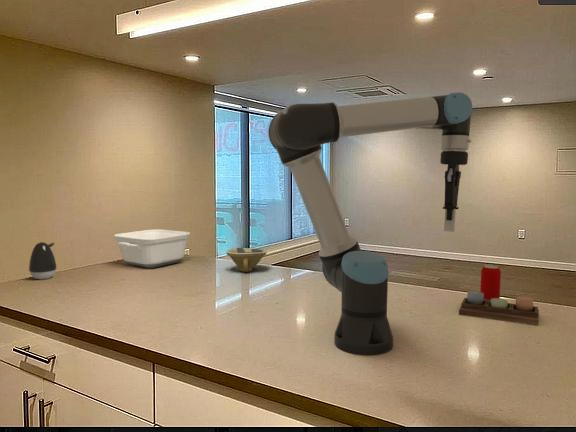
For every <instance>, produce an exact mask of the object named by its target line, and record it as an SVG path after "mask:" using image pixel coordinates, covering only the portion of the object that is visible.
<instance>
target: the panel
mask: <svg viewBox="0 0 576 432" xmlns="http://www.w3.org/2000/svg"><path fill="white" fill-rule="evenodd" d="M515 305H516V303H509V302H508V307H507V309H506V308H499V307H491V301H487V300H483V304H472V303H468V302H467V297H464V298H463V300H462V301H461V303H460V307H459V309H458V315H460V316H467V317H474V318H481V319H488V320H496V321H503V322H509V321H510V322H512V323H516V322H519V323H518V324H524V323H526V324H525V325H531V324H534V325H533V326H539V322H540V321H539V319H540V317H539V315H540V312H539V311H540V310H539V307H538V306H534V305H533V310H530V311H526V310H520V309H517V308H515Z"/></svg>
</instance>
